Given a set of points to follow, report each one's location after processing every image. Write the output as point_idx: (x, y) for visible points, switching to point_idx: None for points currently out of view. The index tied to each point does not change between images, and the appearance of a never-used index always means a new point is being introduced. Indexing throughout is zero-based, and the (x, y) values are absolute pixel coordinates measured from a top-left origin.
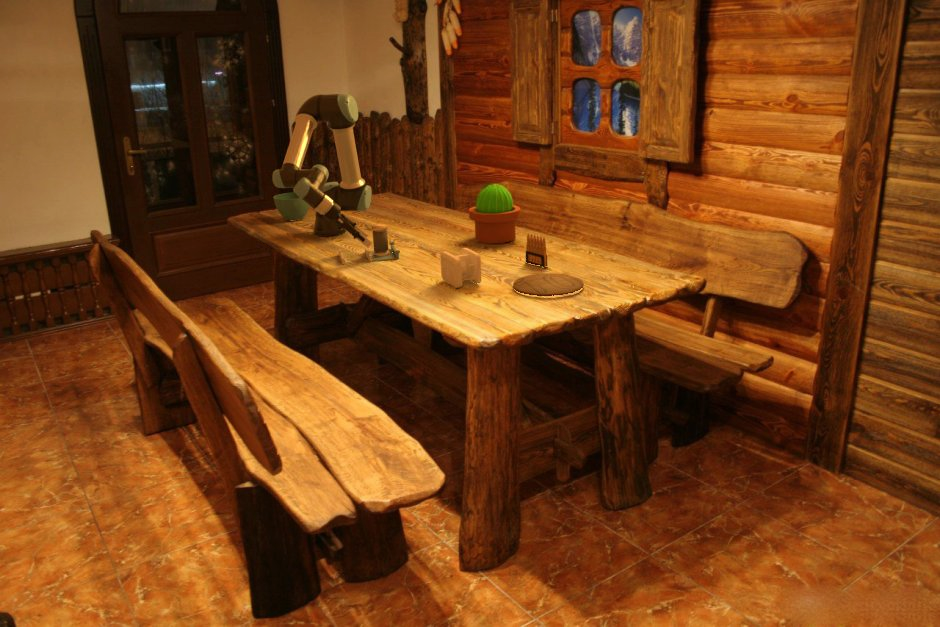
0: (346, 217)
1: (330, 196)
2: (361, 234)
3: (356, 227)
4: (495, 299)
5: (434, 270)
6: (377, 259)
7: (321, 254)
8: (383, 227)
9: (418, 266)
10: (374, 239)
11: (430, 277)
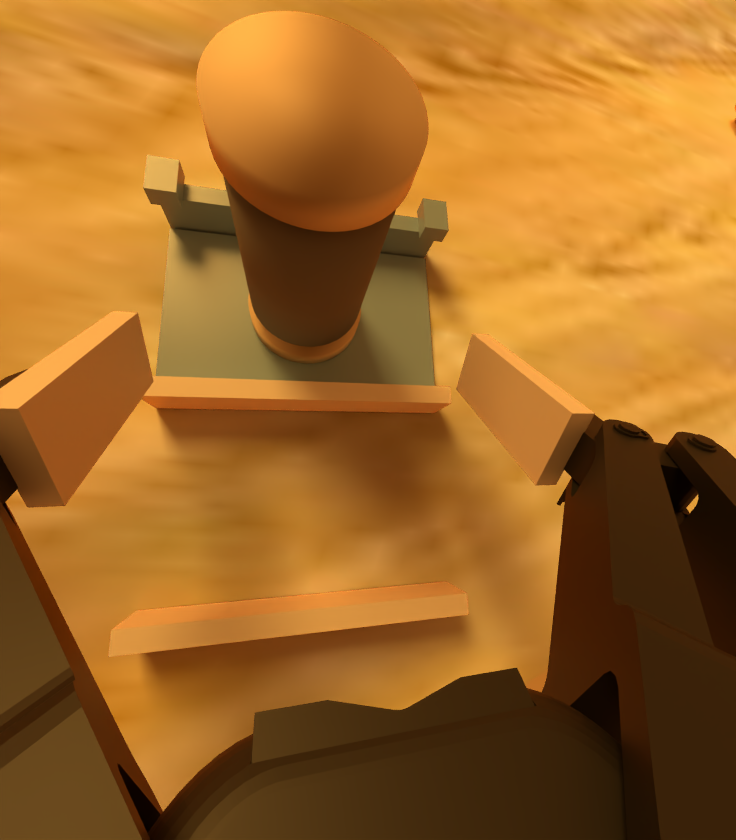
0: (65, 824)
1: None
2: (574, 404)
3: (42, 416)
4: None
5: (641, 173)
6: (416, 360)
7: None
8: (413, 85)
9: (575, 207)
10: (348, 290)
11: (723, 218)
